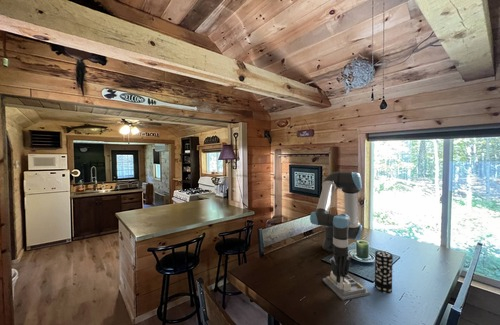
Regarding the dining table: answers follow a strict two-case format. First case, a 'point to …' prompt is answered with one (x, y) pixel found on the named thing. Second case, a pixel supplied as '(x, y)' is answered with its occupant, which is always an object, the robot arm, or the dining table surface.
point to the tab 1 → (333, 277)
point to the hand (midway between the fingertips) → (340, 287)
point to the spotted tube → (383, 271)
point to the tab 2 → (346, 285)
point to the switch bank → (355, 291)
